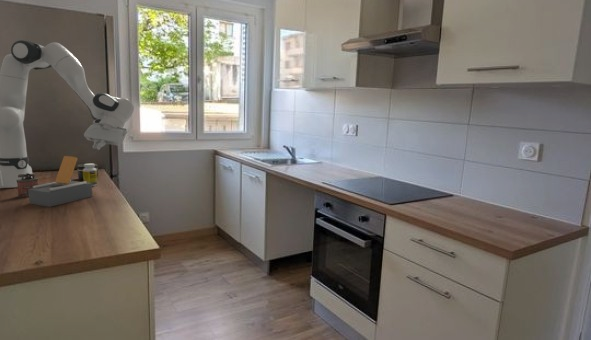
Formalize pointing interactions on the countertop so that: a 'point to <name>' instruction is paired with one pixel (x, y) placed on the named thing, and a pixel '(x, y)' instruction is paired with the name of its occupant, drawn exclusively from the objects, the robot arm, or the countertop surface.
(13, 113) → the robot arm
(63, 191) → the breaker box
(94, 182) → the pill bottle
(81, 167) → the jar
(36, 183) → the lighter
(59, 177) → the lever
